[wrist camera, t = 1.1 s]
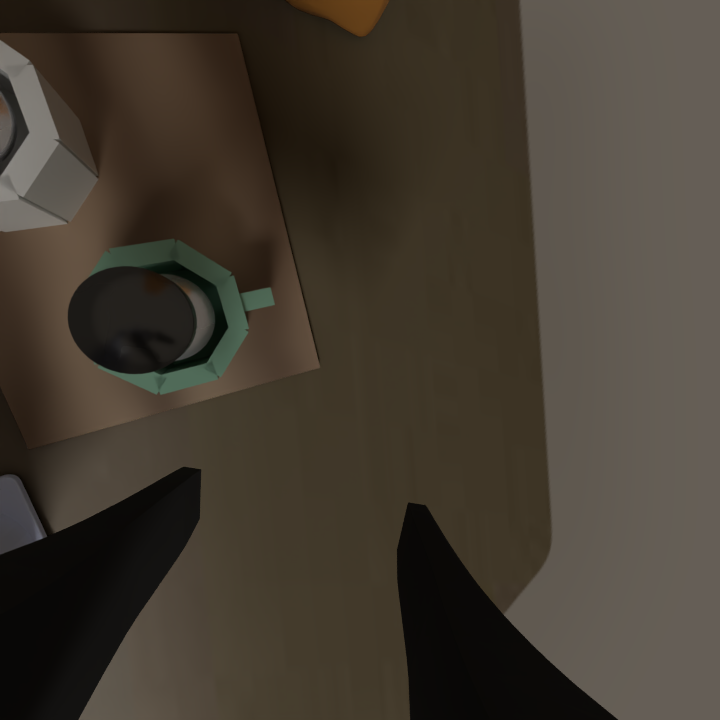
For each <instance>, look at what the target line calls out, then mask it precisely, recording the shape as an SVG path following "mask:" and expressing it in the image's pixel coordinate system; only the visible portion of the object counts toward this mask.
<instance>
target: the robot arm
mask: <svg viewBox="0 0 720 720" xmlns="http://www.w3.org/2000/svg"><path fill="white" fill-rule="evenodd" d="M200 489H201V469H195V468H188V467H182V468H180V469H178V470H176V471H175V472H173V473H171V474H169V475H167V476H166V477H164V478H162V479H160V480H159V481H157V482H155V483H153V484H152V485H150V486H148V487H146V488H144V489H143V490H141V491H139V492H137V493H135V494H134V495H132V496H130V497H128V498H126V499H125V500H123V501H121V502H119V503H117V504H115V505H113V506H111V507H109V508H107V509H105V510H103V511H101V512H99V513H97V514H95V515H93V516H91V517H89V518H87V519H85V520H83V521H81V522H79V523H77V524H75V525H72V526H70V527H68V528H66V529H63V530H61V531H59V532H56V533H54V534H52V535H50V536H47V535H46V533H45V531H44V528H43V526H42V524H41V522H40V520H39V518H38V516H37V513H36V511H35V509H34V507H33V505H32V503H31V501H30V499H29V496H28V494H27V492H26V490H25V488H24V486H23V484H22V481H21V480H20V478H19V477H18V476H16V475H12V474H7V475H3V476H0V720H78V719H79V717H80V715H81V714H82V712H83V710H84V708H85V706H86V705H87V703H88V701H89V699H90V697H91V695H92V694H93V692H94V690H95V688H96V686H97V685H98V683H99V681H100V679H101V677H102V675H103V674H104V672H105V670H106V668H107V667H108V665H109V663H110V661H111V660H112V658H113V656H114V654H115V653H116V651H117V649H118V647H119V646H120V644H121V642H122V640H123V639H124V637H125V635H126V634H127V632H128V630H129V629H130V627H131V626H132V624H133V623H134V621H135V619H136V618H137V616H138V615H139V613H140V612H141V610H142V609H143V608H144V606H145V605H146V603H147V602H148V600H149V599H150V597H151V596H152V594H153V593H154V592H155V590H156V589H157V587H158V586H159V584H160V583H161V581H162V580H163V579H164V577H165V576H166V574H167V573H168V571H169V570H170V568H171V567H172V565H173V564H174V562H175V561H176V559H177V558H178V557H179V555H180V554H181V552H182V550H183V549H184V547H185V546H186V544H187V542H188V540H189V538H190V536H191V535H192V533H193V531H194V529H195V527H196V525H197V523H198V521H199V519H200ZM397 580H398V590H399V599H400V607H401V615H402V623H403V631H404V639H405V647H406V656H407V666H408V677H409V701H410V720H618V719H616V718H615V717H614V716H613V715H612V714H610V713H609V712H608V711H607V710H606V709H604V708H603V707H602V706H601V705H599V704H598V703H597V702H596V701H595V700H593V699H592V698H591V697H590V696H588V695H587V694H586V693H585V692H584V691H582V690H581V689H580V688H579V687H577V686H576V685H575V684H574V683H573V682H572V681H571V680H569V679H568V678H567V677H566V676H565V675H564V674H563V673H562V672H561V671H559V670H558V669H557V668H556V667H555V666H554V665H553V664H552V663H550V661H548V660H547V659H546V658H545V657H544V656H543V655H542V654H541V653H540V652H539V651H538V650H537V649H536V648H535V647H534V646H533V645H532V644H531V643H530V642H529V641H528V640H527V639H526V638H525V637H524V636H523V635H522V634H521V633H520V632H519V631H518V630H517V629H516V628H515V627H514V626H513V625H512V624H511V622H510V621H509V620H508V619H507V618H506V617H505V616H504V615H503V614H502V613H501V611H500V610H499V609H498V608H497V607H496V606H495V604H494V603H493V602H492V601H491V600H490V599H489V597H488V596H487V595H486V594H485V593H484V591H483V590H482V589H481V588H480V586H479V585H478V584H477V583H476V581H475V580H474V579H473V577H472V576H471V574H470V573H469V572H468V570H467V569H466V568H465V566H464V565H463V563H462V562H461V560H460V559H459V558H458V556H457V555H456V553H455V552H454V550H453V549H452V547H451V546H450V544H449V542H448V541H447V539H446V538H445V536H444V534H443V533H442V531H441V530H440V528H439V526H438V525H437V523H436V521H435V520H434V518H433V516H432V515H431V513H430V511H429V510H428V508H427V507H426V505H421V504H414V503H408V505H407V509H406V514H405V518H404V522H403V527H402V531H401V535H400V540H399V544H398V548H397Z"/></svg>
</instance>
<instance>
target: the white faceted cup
mask: <svg viewBox="0 0 720 720" xmlns="http://www.w3.org/2000/svg"><path fill="white" fill-rule="evenodd" d="M0 90H1V92H2V93H3V94H4V96H5V97H6V98H7V100H8V102H9V103H10V105H11V107H12V110H13V112H14V115H15V118H16V123H17V138H16V142H15V145H14V148H13V149H12V151H11V153H10V154H9V155H8V157H7V158H6V159H4V160H3V161H2V162H1V163H0V231H3V232H10V231H18V230H25V229H33V228H40V227H48V226H56V225H63V224H68V223H67V221H69V222H71V221H72V219H73V218H74V216H75V215H76V213H77V212H78V210H79V209H80V207H81V205H82V204H83V202H84V201H85V199H86V198H87V196H88V195H89V193H90V192H91V190H92V189H93V187H94V185H95V184H96V182H97V181H98V178H97V177H96V176H99V175H98V172H97V169H96V166H95V163H94V160H93V157H92V154H91V151H90V149H89V146H88V143H87V140H86V137H85V134H84V131H83V128H82V125H81V122H80V120H79V118H78V117H77V116H76V115H75V114H74V112H73V111H72V110H71V109H70V108H69V106H68V105H67V104H66V103H65V102H64V101H63V99H62V98H61V97H60V96H59V95H58V93H57V92H56V91H55V90H54V89H53V88H52V86H51V85H50V84H49V83H48V82H47V81H46V79H45V78H44V77H43V76H42V75H41V73H40V72H39V71H38V70H37V69H36V68H35V66H34V65H33V64H32V63H31V62H30V60H28V59H27V58H25V57H24V56H22V55H21V54H20V53H18V52H17V51H15V50H14V49H12V48H11V47H9V46H8V45H7V44H5V43H4V42H2V41H1V40H0ZM66 220H67V221H66Z"/></svg>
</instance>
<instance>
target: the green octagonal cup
mask: <svg viewBox="0 0 720 720" xmlns="http://www.w3.org/2000/svg"><path fill="white" fill-rule="evenodd" d="M109 251H110V253H109V252H107V251H105V252H104V254H103V255H102V257H101V258H100V260H99V261H98V263H97V265H96V266H95V268H94V269H93V271H92V272H91V274H90V276H91V275H93V274H95V273H97V272H99V271H102V270H104V269H108V268H112V267H119V266H133V267H140V268H144V269H148V270H150V271H153V272H156V273H158V274H169V275H175V276H179V277H182V278H185V279H187V280H189V281H191V282H192V283H194V284H195V285H197V286H198V287H199V288H200V289H202V291H203V292H204V293H205V294H206V295H207V297H208V298H209V300H210V302H211V303H212V306H213V309H214V313H215V327H214V331H213V334H212V336H211V338H210V340H209V341H208V343H207V344H206V345H205V346H204V347H203V348H202V349H201V350H200V351H199V352H197V353H196V354H194V355H193V356H190V357H188V358H185V359H182V360H177V361H174V362H172V363H171V364H169V365H168V366H166V367H164V368H162V369H160V370H157V371H154V372H150V373H145V374H124V373H119V372H115V371H111V370H109V369H106V368H104V367H102V366H100V365H99V366H98V367H97V368H99V369H101V370H103V371H106V372H108V373H110V374H112V375H114V376H117V377H119V378H121V379H123V380H125V381H128V382H130V383H132V384H134V385H137V386H139V387H141V388H143V389H145V390H148V391H150V392H152V393H154V394H156V395H157V394H158V393H159V392H160V395H162V394H166V393H170V392H173V391H177V390H181V389H184V388H188V387H192V386H196V385H199V384H203V383H207V382H210V381H214V380H218V379H219V377H222V375H223V373H224V372H225V370H226V368H227V367H228V365H229V363H230V362H231V360H232V358H233V357H234V355H235V353H236V352H237V350H238V349H239V347H240V345H241V344H242V342H243V340H244V339H245V337H246V335H247V334H248V332H249V331H248V329H249V327H248V323H247V320H246V316H245V313H244V312H245V311H250V310H254V309H259V308H263V307H268V306H272V305H275V303H274V299H273V295H272V292H271V288H265V289H260V290H255V291H250V292H245V293H240V294H239V292H238V288H237V284H236V281H235V277H234V276H233V275H232V273H231V272H230V271H228V270H227V269H225V268H223V267H222V266H220V265H218V264H217V263H215V262H214V261H212V260H210V259H209V258H207V257H206V256H204V255H202V254H201V253H199V252H197V251H196V250H194V249H193V248H191V247H189V246H188V245H186V244H185V243H183V242H181V241H180V240H177V241H176V240H175V239H168V240H162V241H155V242H149V243H142V244H136V245H129V246H123V247H116V248H110V249H109ZM90 276H89V277H90ZM94 365H96V363H95V362H94Z"/></svg>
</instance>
